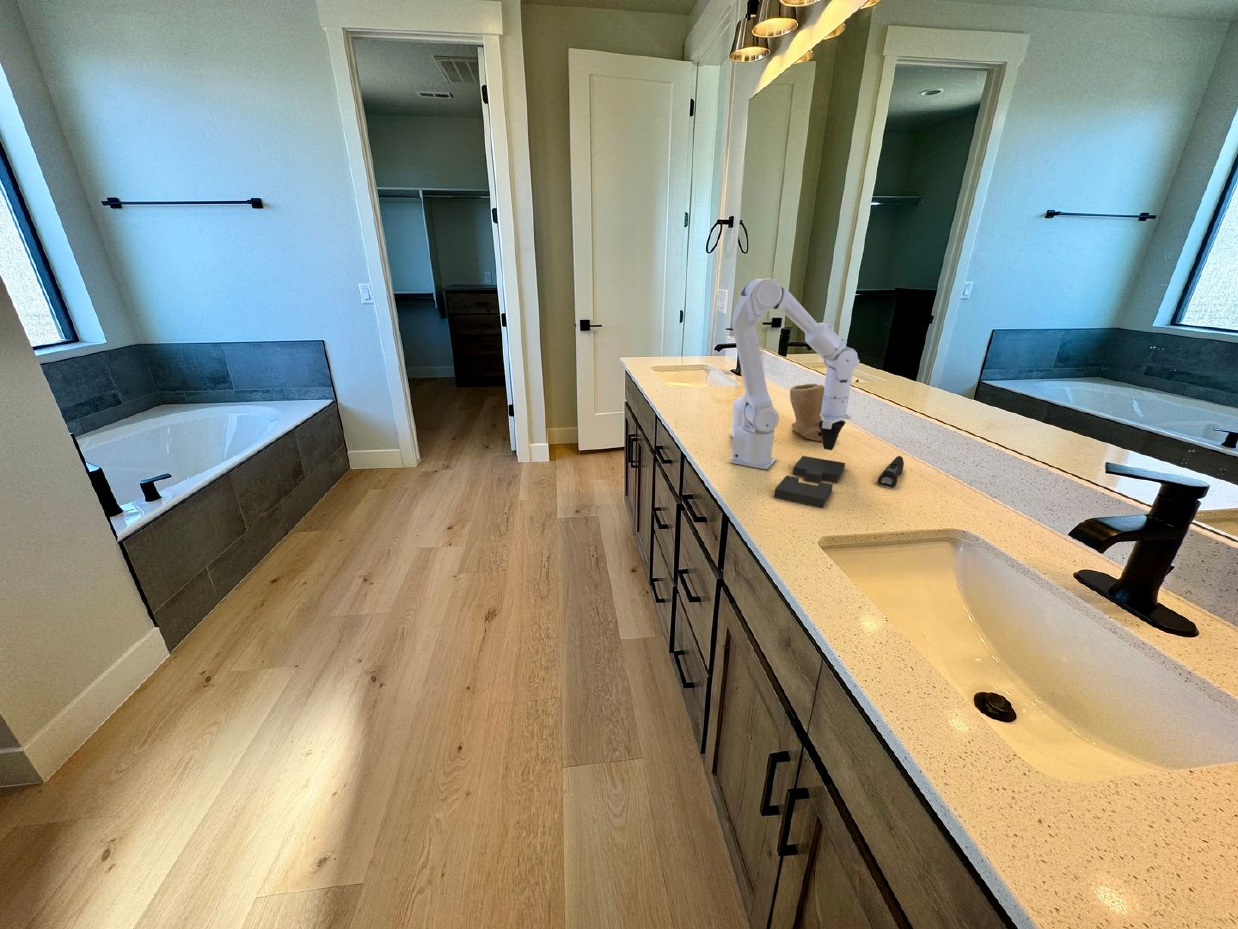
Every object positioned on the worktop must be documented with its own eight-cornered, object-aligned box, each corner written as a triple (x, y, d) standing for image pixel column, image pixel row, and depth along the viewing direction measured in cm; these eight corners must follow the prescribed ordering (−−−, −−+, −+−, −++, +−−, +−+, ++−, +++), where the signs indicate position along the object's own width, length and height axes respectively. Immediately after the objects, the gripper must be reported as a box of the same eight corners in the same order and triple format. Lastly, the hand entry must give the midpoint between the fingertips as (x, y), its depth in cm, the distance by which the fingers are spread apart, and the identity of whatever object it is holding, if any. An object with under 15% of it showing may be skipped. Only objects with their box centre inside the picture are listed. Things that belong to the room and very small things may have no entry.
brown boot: (780, 427, 153) (786, 379, 148) (819, 427, 153) (825, 379, 147) (796, 443, 139) (802, 391, 133) (838, 443, 139) (846, 390, 133)
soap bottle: (766, 441, 141) (775, 354, 132) (734, 442, 141) (741, 355, 132) (758, 432, 149) (766, 350, 140) (728, 432, 149) (734, 350, 140)
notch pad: (774, 497, 106) (775, 489, 105) (785, 483, 113) (786, 475, 112) (822, 508, 101) (824, 499, 100) (831, 492, 108) (832, 484, 107)
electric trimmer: (906, 469, 120) (909, 456, 119) (894, 489, 109) (897, 475, 108) (889, 465, 123) (892, 453, 122) (876, 485, 111) (878, 472, 110)
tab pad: (789, 477, 116) (790, 470, 115) (801, 463, 125) (802, 455, 124) (834, 486, 111) (836, 478, 110) (844, 470, 120) (845, 462, 119)
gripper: (848, 404, 112) (839, 460, 117) (858, 392, 123) (850, 443, 128) (816, 401, 115) (809, 455, 120) (828, 389, 127) (821, 439, 132)
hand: (828, 448), depth 124 cm, fingers closed
